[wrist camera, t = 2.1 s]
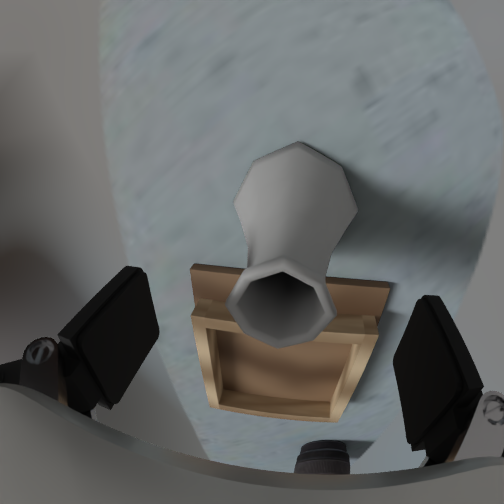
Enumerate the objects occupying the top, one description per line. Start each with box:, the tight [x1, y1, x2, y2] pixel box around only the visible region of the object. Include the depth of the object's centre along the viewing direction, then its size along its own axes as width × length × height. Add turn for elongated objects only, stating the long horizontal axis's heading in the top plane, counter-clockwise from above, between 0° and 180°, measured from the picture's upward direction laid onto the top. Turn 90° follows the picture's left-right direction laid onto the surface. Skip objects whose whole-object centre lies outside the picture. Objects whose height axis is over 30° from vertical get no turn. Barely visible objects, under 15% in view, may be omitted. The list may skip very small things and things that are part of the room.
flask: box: [225, 141, 358, 349], centre depth 12 cm, size 7×7×10 cm
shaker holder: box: [190, 264, 390, 422], centre depth 22 cm, size 18×14×3 cm
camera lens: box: [294, 441, 350, 475], centre depth 26 cm, size 8×8×15 cm
